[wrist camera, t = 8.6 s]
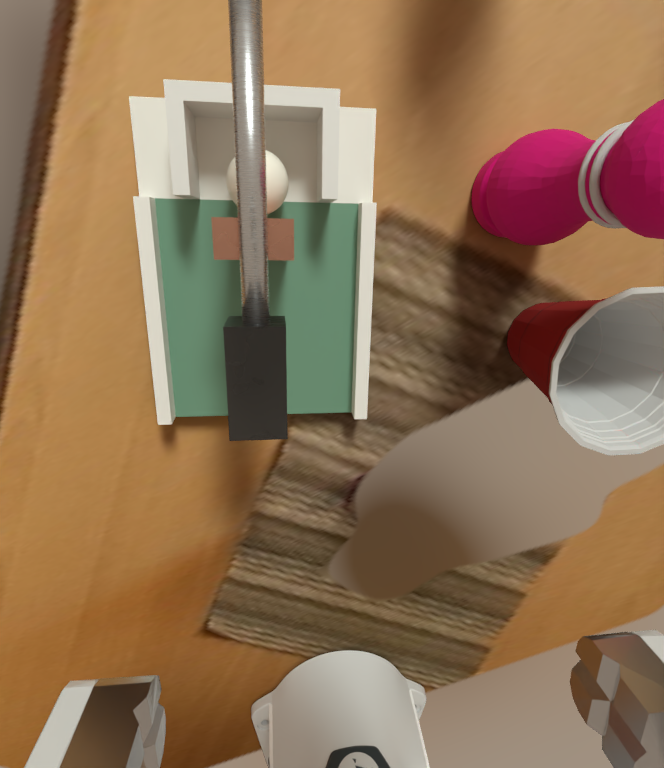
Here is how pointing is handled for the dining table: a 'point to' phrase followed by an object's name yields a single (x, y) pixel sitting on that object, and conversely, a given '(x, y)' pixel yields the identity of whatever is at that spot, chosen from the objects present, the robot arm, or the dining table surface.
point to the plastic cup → (599, 366)
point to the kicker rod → (252, 249)
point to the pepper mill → (575, 182)
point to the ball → (274, 182)
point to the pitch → (286, 278)
